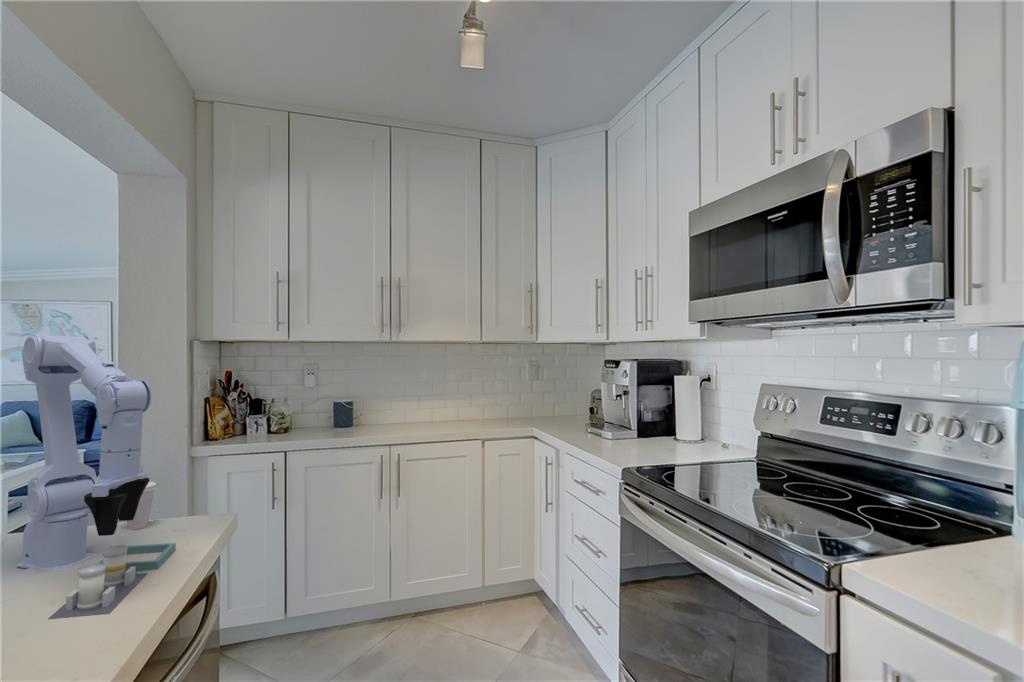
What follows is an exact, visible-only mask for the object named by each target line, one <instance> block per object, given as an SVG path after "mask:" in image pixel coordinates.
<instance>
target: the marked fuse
mask: <svg viewBox="0 0 1024 682" xmlns="http://www.w3.org/2000/svg"><path fill="white" fill-rule="evenodd" d="M128 546H129V545H126V544H120V545H119V544H117V545H111V546H108V547H106V548H104V549H103V552H102V556H103V559H104V562H103V563H104V564H106V571H105V578H104V588H109V587H116V586H119V585H122V584H124V577H125V572H126V563H127V562H128V561H127V555H128V554H127V552H128Z"/></svg>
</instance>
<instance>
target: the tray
mask: <svg viewBox="0 0 1024 682" xmlns="http://www.w3.org/2000/svg"><path fill="white" fill-rule="evenodd" d="M176 545H177V543H176V542H169V543H168V542H167V543H153V544H151V543H150V544H136V545H135V544H134V545H133V544H132V545H127V546H128V552H127V555H137V554H138V555H140V554H153V553H154V554H155V553H157V554H159V553H160V554H159V555H158V556H157V557H156V558H155V559H153V560H152V559H151V560H140V561H139V560H138V561H127V563H126V571H127V570H128V569H129V568H130V567H136V572H139V571H140V572H142V571H155V570H159V569H160V567H161V566H163V564H165V562H166V561H167V560H168V559H169V558H170V557H171V555H172V554H174V552H175V551H176V550H177V549H176ZM103 562H104V558H102V559H100V561H98V563H103Z"/></svg>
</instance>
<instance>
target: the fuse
mask: <svg viewBox="0 0 1024 682" xmlns="http://www.w3.org/2000/svg"><path fill="white" fill-rule="evenodd" d="M105 571H106V564H104V563H99V562H97V563H96V562H95V563H89V564H85V565H83V566H82V567H80V568H79V569H78V575H77V577H78V588H77V589H78V602H77V610H81V611H85V610H91V609H95V608H97V607H100V606H101V605H102V594H103V593H104V578H105Z"/></svg>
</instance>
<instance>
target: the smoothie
mask: <svg viewBox="0 0 1024 682" xmlns="http://www.w3.org/2000/svg"><path fill="white" fill-rule="evenodd" d="M155 489H157V483H156V482H155V481H149V483H148V484H147V486H146V488H145V489H144V491H143V493H142V496H141V498H140V501H139V504H138V507H137V511H136V514H135V517H134V519H133V520H129V521H126V524H127V529H128V530H131V531H132V530H141V529H144V528H146V527H148V524H149V520H150V514H151V509H152V504H153V498H154V493H155Z"/></svg>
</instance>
